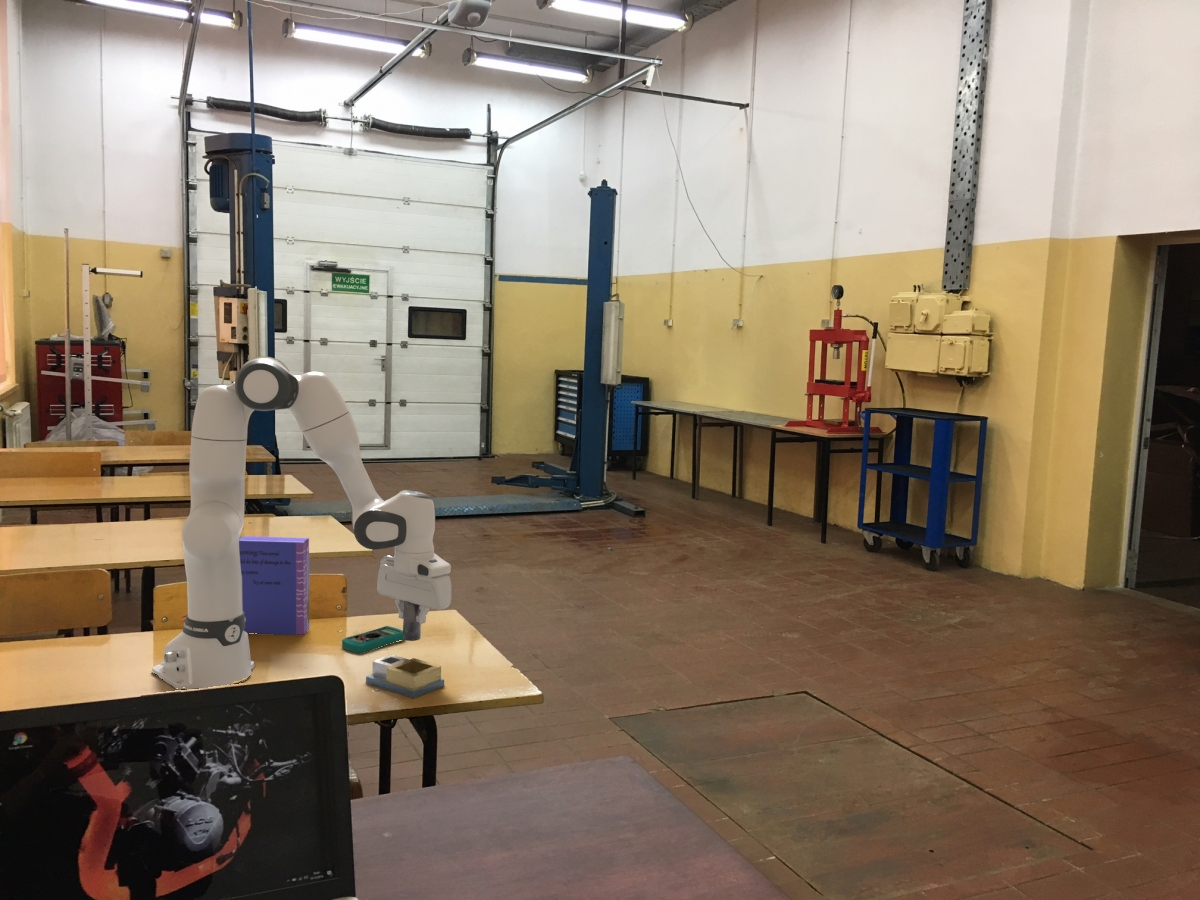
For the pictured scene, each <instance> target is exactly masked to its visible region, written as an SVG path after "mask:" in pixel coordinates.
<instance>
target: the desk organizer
mask: <svg viewBox="0 0 1200 900" xmlns="http://www.w3.org/2000/svg"><path fill="white" fill-rule="evenodd" d="M365 683H366V684H367V683H368V684H367V685H370V684H371V686H375V687H376V688H377V687H378V688H381V689H382V690H386V691H390V692H393V693H396V694H400V695H402V696H405V697H408V698H411V699H417V698H419V697H421V696H424V695H426V694H429V693H430V692H433V691H436V690H439V689H440V688H443V687H444V686H445V678H442V665H439V664H436V663H432V662H430V661H429V662H428V661H425V660H422V659H418V658H414V657H412V658H411V659H410V658H409V659H408V658H405V657H403V656H402V657H401V656H398V655H394V654H388V655H386V656H383V657H380V658H377V659H374V660H372V673H371V674H370V675H369V674H368V675H367V676H366V677H365Z"/></svg>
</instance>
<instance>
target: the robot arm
mask: <svg viewBox="0 0 1200 900" xmlns="http://www.w3.org/2000/svg"><path fill="white" fill-rule="evenodd" d="M286 409H287V410H289V411H290V412H291V413H292V415H293V416H294V419H295V420H296V423H297V424H298V426H299V429H300V430H301V432H302V435H303V436H304V439H305V441H306V443H307V444H308V446H309V447H310V449H311V450H312V451H313V453H314V454H315V456H317V458H318V459H320V460H321V461H323V463H324V462H325V463H326V464H327V465H328V466H329V467H330V468H331V469H332V470H333V471H334V473H335V474H336V476H337V477H338V480H339V481H340V484H341V486H342V488H343V490H344V492H345V494H346V496H347V498H348V500H349V503H350V506H351V510H350V511H351V516H350V518H351V524H352V527H353V528H352V529H353V535H354V537H355V539H356V541H357V542H358V544H359V545H361V546H362V547H364V548H365V549H368V550H376V551H377V550H383V549H388V548H393V547H394V556H391V555H385V556H384V557H382V558H381V560H380V562H379V563H380V565H379V566H380V567H379V569H378V574H377V582H376V592H378V595H380V596H383V597H388V598H391V599H395V600H394V603H395V605H396V609H397V611H398V618H399V619H403V614H404V601H407V602H411V603H414V604H417V605H420V608H419V609H420V610H421V612H420V614H419V615H416V623H419V624H421V625H422V624H423V625H424V624H426V621H427V615H428V613H429V611H431V609H433V610H436V611H439V610H441V611H442V610H444V609H447V608H448V607H449V606H450V605H451V603H452V581H451V577H450V576H449V574H450V573H451V570H452V565H451V563H449V562H447V561H445V559H443V558H441V557H440V556H439V555H437V553H435V546H434V541H433V540H434V539H433V538H434V535H435V534H434V533H435V530H436V512H435V511H436V510H435V504H434V501H433V499H432V497H430V495H429V494H426V493H424V492H422V491H417V490H411V489H409V490H408V489H404V490H401V491H400V492H398V493H397V494H395V495H394V496H391V497H390V498H388V499H385V498H384V497H382V496H381V495H380V494H379V492H377V490H376V488H375V486H374V484H373V483H372V480H371V478H370V476H369V474H368V472H367V469H366V468H365V466H364V463H363V460H362V457H361V451H360V438H359V433H358V430H357V427H356V424H355V420H354V417H353V415H352V413H351V411H350V409H349V407H348V405H347V403H346V401H345V399H344V397H343V396H342V394H341V392H340V391H339V389H338V388H337V386H336V385H335V383H334V382H333V381H332V379H331V378H330V377H329V375H327V374H326V373H325V372H320V371H310V372H304V373H302V374H298V375H297V374H293V373H291V372H290V370H289V369H288V367H287V366H286V365H285V364H284V363H283V362H282V361H281V360H279V359H277V358H276V357H275V358H274V357H271V356H258V357H253V358H251V359H250V360H248V361H246V362H245V363H244V364H243V365H242V366H241V368H240V369H239V370H238V372H237V373H236V376H235V379H234V381H233V382H232V383H231V384H216V385H211V386H207V387H205V388H204V389H203V390H202V391H200V393H199V394H198V396H197V401H196V405H195V408H194V413H193V418H192V423H191V424H192V425H191V438H190V453H189V471H188V474H189V483H190V485H189V486H190V509H189V510H190V511H189V514H188V516H187V518H186V519H185V520H184V522H183V524H182V528H181V529H182V530H181V537H182V538H181V541H182V552H183V560H184V568H185V569H184V570H185V575H186V585H187V586H186V589H187V590H186V592H187V593H186V594H187V614H186V615H183V616H181V617H180V618H182V619H181V620H180V622H184V624H183V627H182V631H181V632H180V633H179V634H177V636H175V637H174V638H173V639H172V640H170V641H169V642H168V643H167V644H166V645H165V646H164V651H163V661H162V662H160V663H158V664H156V665H154V666H153V667H152V668H151V672H152V671H153V672H154V673H155V674H157V675H158V676H159V677H158V676H157V675H156V676H157V677H158V678H160V679H161V680H162V679H163V680H162V681H164V682H165V683H166V684H168V685H170V686H171V685H172V686H171V687H173V688H174V689H176V688H178V689H177V690H179V691H181V689H185V690H191V689H193V690H194V689H205V688H204V687H213V686H221V685H227V684H232V683H233V682H234V681H239V680H242V679H243V678H246V677H249V676H250V675H251V676H252V670H253V669H254V668H255V661H253V660H252V659H251V658H252V657H251V651H250V641H249V634H247V632H245V631H244V629H245V613H244V611H243V603H242V574H241V565H240V553H239V537H240V536H241V534H242V533H241V532H242V531H243V529H244V524H245V506H246V505H245V502H246V501H245V500H246V499H245V496H246V495H245V494H246V493H245V491H246V488H245V487H246V486H245V485H246V482H245V481H246V480H245V479H246V477H245V475H246V461H247V460H246V459H247V458H246V457H247V446H248V445H247V442H248V430H249V429H248V426H249V421H250V417H251V416H252V413H253V412H254V411H258V412H269V411H279V410H286ZM251 669H252V670H251ZM154 673H153V674H154ZM155 674H154V675H155ZM251 676H250V677H251ZM250 677H249V678H250ZM183 687H185V688H183Z"/></svg>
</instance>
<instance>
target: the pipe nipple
mask: <svg viewBox="0 0 1200 900" xmlns="http://www.w3.org/2000/svg"><path fill="white" fill-rule="evenodd" d="M419 608H420V605H417V604H414V603H411V602H407V601H404V614H403V620H402V621H403V622H402V624H403V625H402V631H403V639H404V641H406V642H407V641H408V642H415V641H419V640H421V638H422V637H421V633H422V632H421V631H422V624H419V623H416V615H419V614H420V612H421V610H420V609H419Z"/></svg>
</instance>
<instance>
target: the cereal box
mask: <svg viewBox="0 0 1200 900" xmlns="http://www.w3.org/2000/svg"><path fill="white" fill-rule="evenodd" d="M239 553H240V565H241V574H242V603H243V611H244V613H245V629H244V631H245V632H247V633H254V634H253V635H257V634H273V635H272V636H296V635H304V636H305V635H306V634H307V633H308V632H309V631H310V630H309V629H310V626H311V625H310V538H309V537H308V538H307V537H283V536H282V537H275V536H245V535H244V536H241V535H240V537H239ZM308 630H309V631H308ZM307 631H308V632H307ZM255 633H257V634H255Z"/></svg>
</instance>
